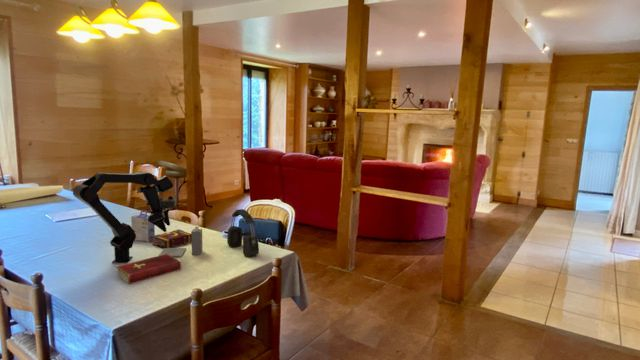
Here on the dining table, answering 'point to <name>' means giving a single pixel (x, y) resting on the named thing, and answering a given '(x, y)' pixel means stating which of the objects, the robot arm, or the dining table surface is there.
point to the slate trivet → (173, 252)
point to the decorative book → (172, 239)
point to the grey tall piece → (196, 241)
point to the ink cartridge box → (142, 227)
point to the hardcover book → (148, 268)
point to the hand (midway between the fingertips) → (167, 228)
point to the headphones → (249, 240)
